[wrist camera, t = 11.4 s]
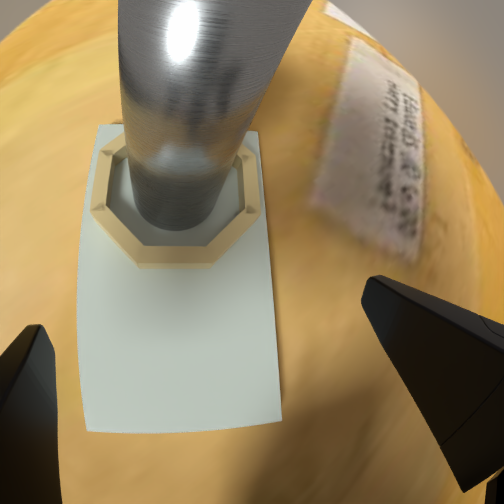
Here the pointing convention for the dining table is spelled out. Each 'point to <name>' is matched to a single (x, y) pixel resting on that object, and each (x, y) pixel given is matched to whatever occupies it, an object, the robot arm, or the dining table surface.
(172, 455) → the dining table surface
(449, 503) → the dining table surface
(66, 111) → the dining table surface
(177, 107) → the grey metal peg
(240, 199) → the collar board
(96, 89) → the dining table surface
